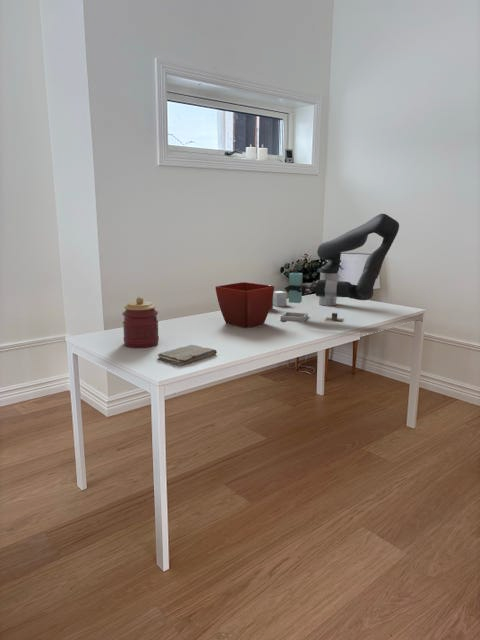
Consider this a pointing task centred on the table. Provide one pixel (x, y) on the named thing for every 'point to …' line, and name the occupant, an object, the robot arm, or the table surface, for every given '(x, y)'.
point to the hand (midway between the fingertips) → (290, 286)
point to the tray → (293, 316)
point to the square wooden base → (334, 318)
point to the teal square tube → (296, 280)
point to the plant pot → (244, 303)
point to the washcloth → (186, 355)
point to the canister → (140, 324)
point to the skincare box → (279, 298)
